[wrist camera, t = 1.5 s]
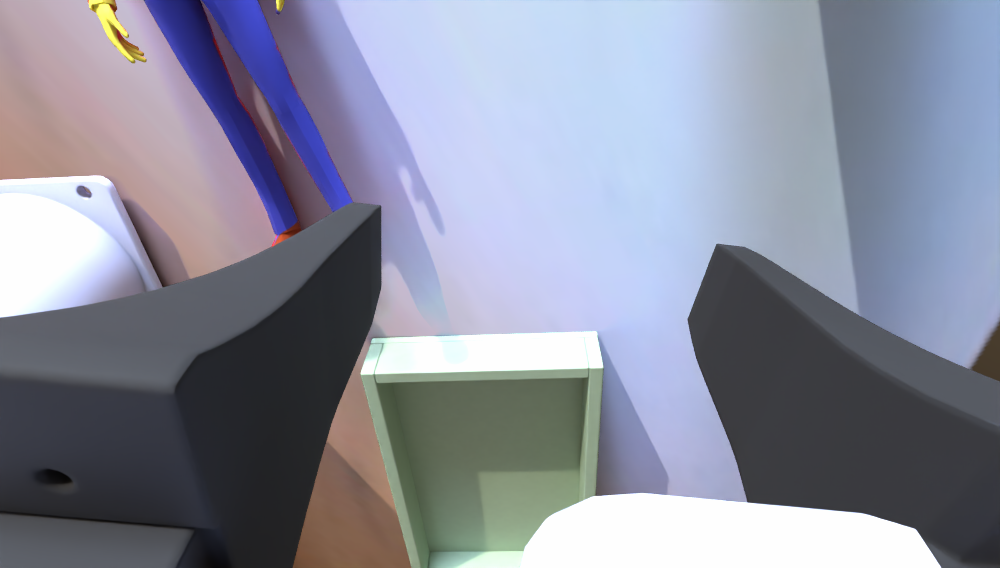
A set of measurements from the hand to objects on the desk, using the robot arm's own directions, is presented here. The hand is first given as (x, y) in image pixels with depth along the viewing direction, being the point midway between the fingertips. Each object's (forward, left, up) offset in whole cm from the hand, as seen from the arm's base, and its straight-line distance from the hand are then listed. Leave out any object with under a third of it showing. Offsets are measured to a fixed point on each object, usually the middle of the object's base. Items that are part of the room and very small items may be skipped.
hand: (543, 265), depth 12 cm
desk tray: (-2, -18, -9) cm, 20 cm away
